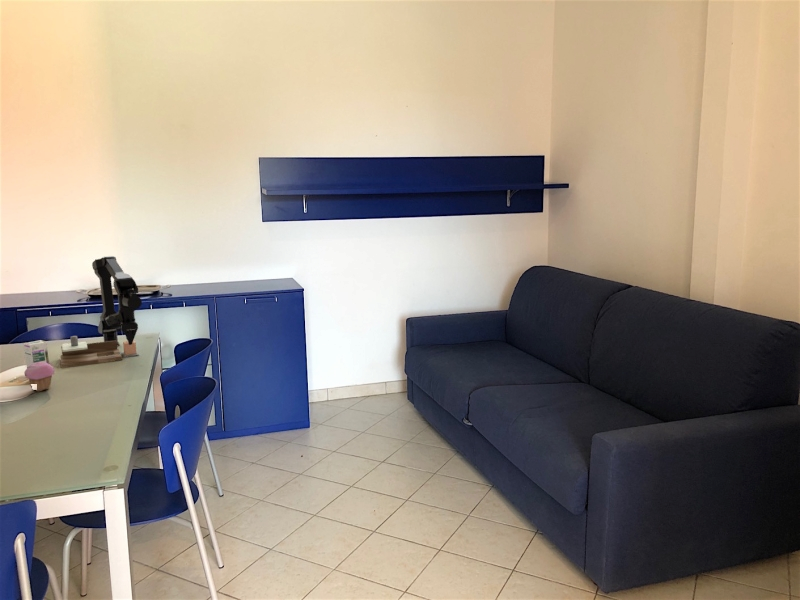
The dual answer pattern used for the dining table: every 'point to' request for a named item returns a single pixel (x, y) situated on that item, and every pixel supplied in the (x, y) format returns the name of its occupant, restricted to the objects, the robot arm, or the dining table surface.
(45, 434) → the dining table surface
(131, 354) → the grey pad
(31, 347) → the syrup box
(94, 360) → the walnut board
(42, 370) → the cupcake
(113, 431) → the dining table surface
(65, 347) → the sliding cover
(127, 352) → the terracotta block
